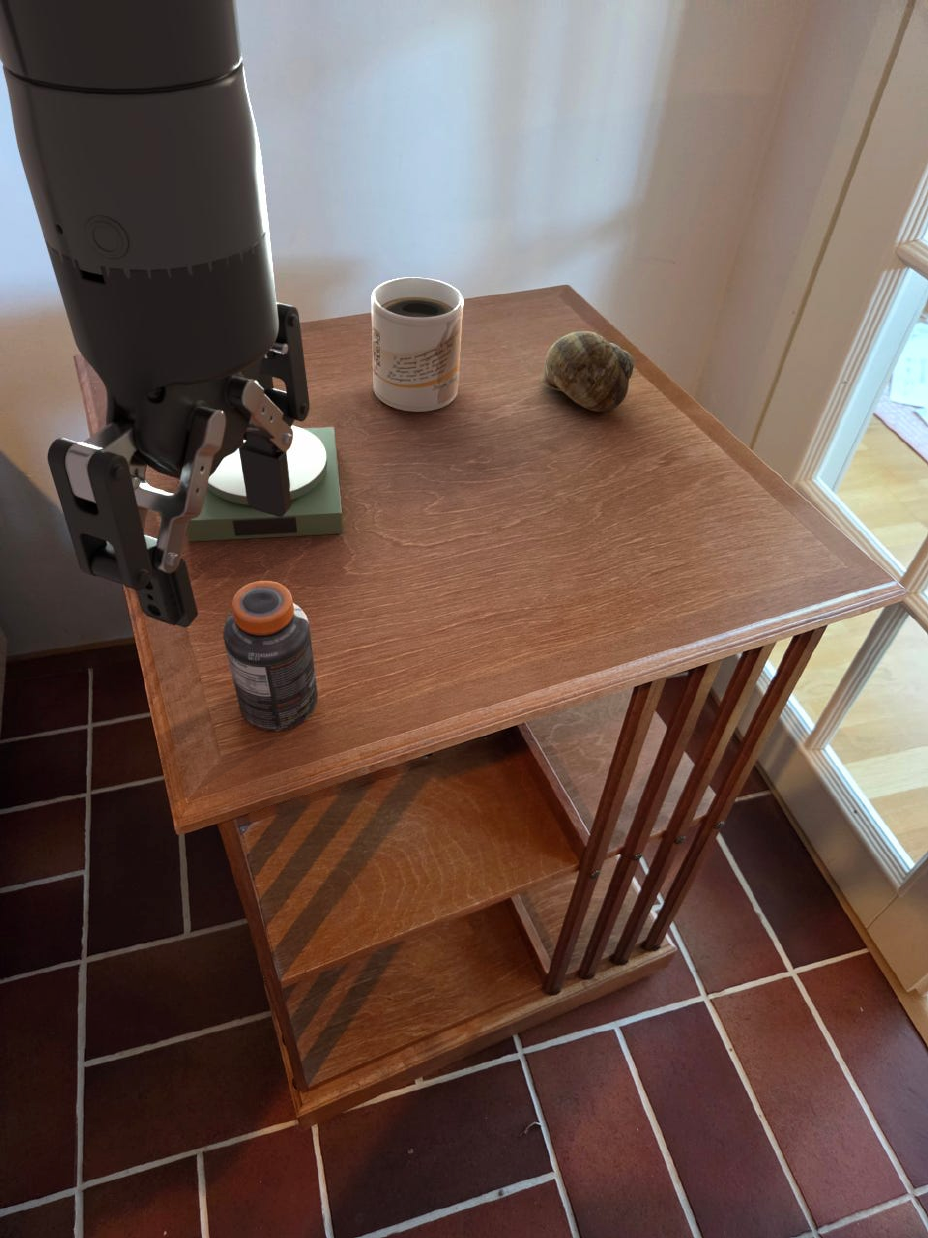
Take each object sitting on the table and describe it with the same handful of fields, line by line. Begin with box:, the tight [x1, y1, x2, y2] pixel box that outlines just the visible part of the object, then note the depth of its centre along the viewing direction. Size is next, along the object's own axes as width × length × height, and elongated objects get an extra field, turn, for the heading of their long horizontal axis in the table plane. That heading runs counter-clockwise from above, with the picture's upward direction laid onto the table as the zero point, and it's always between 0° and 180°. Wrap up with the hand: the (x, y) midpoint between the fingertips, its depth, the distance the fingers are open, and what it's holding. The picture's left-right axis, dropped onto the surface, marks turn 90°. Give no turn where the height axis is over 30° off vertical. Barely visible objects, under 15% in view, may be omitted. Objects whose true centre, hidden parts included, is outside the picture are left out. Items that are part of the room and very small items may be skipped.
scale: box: [186, 425, 344, 543], centre depth 80 cm, size 14×14×4 cm
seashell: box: [540, 330, 636, 412], centre depth 94 cm, size 11×9×8 cm
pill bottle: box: [222, 580, 319, 732], centre depth 60 cm, size 6×6×11 cm
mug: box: [371, 277, 464, 413], centre depth 93 cm, size 10×12×11 cm
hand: (225, 560), depth 40 cm, fingers open, 8 cm apart
